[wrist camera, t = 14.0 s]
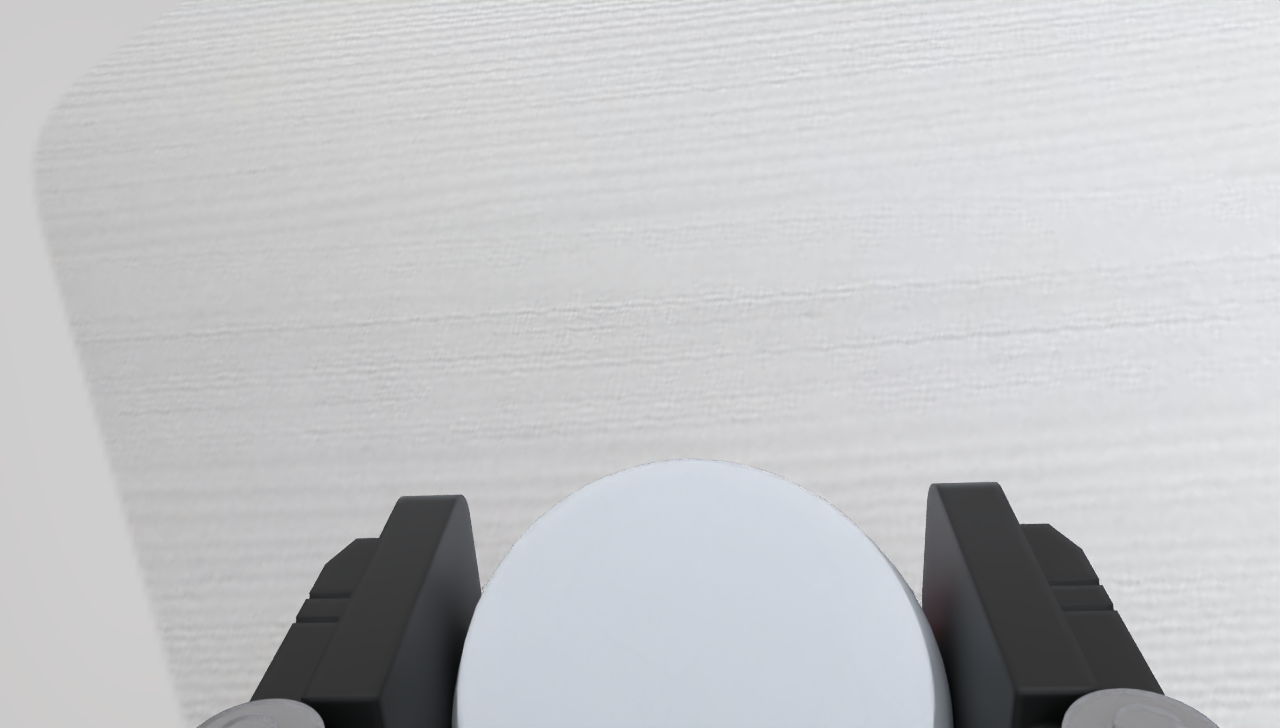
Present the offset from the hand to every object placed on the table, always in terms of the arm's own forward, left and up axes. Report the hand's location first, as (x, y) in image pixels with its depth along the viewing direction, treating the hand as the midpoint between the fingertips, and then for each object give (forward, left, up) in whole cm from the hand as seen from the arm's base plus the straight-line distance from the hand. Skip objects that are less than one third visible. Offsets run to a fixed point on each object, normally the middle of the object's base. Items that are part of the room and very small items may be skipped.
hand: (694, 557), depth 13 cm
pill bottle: (0, -2, -6) cm, 7 cm away
